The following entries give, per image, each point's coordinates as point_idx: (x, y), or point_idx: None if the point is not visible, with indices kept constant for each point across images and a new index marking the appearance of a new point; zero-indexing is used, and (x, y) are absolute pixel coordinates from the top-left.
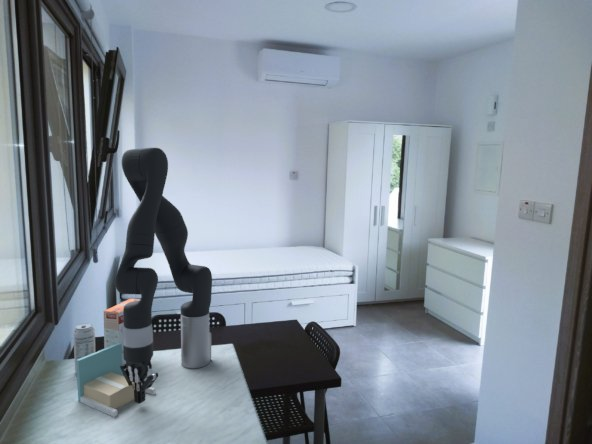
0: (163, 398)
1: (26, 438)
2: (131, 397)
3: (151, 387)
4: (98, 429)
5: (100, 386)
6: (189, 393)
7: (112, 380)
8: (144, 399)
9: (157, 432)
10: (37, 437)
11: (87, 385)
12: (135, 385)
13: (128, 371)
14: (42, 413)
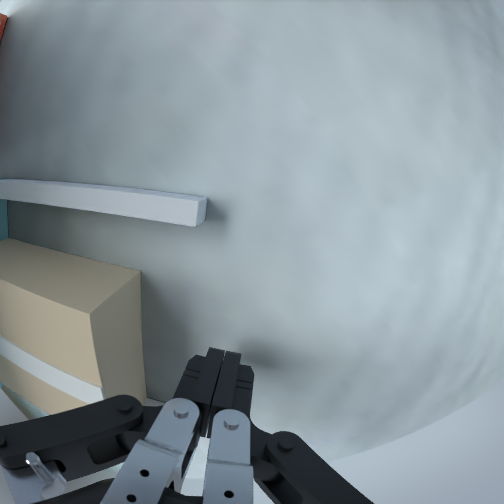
0: (294, 228)
1: (105, 470)
2: (134, 313)
3: (162, 200)
4: (203, 458)
5: (30, 388)
6: (407, 122)
7: (9, 335)
8: (250, 372)
9: (398, 423)
10: (116, 470)
11: (4, 382)
12: (190, 459)
13: (66, 469)
14: (35, 406)
